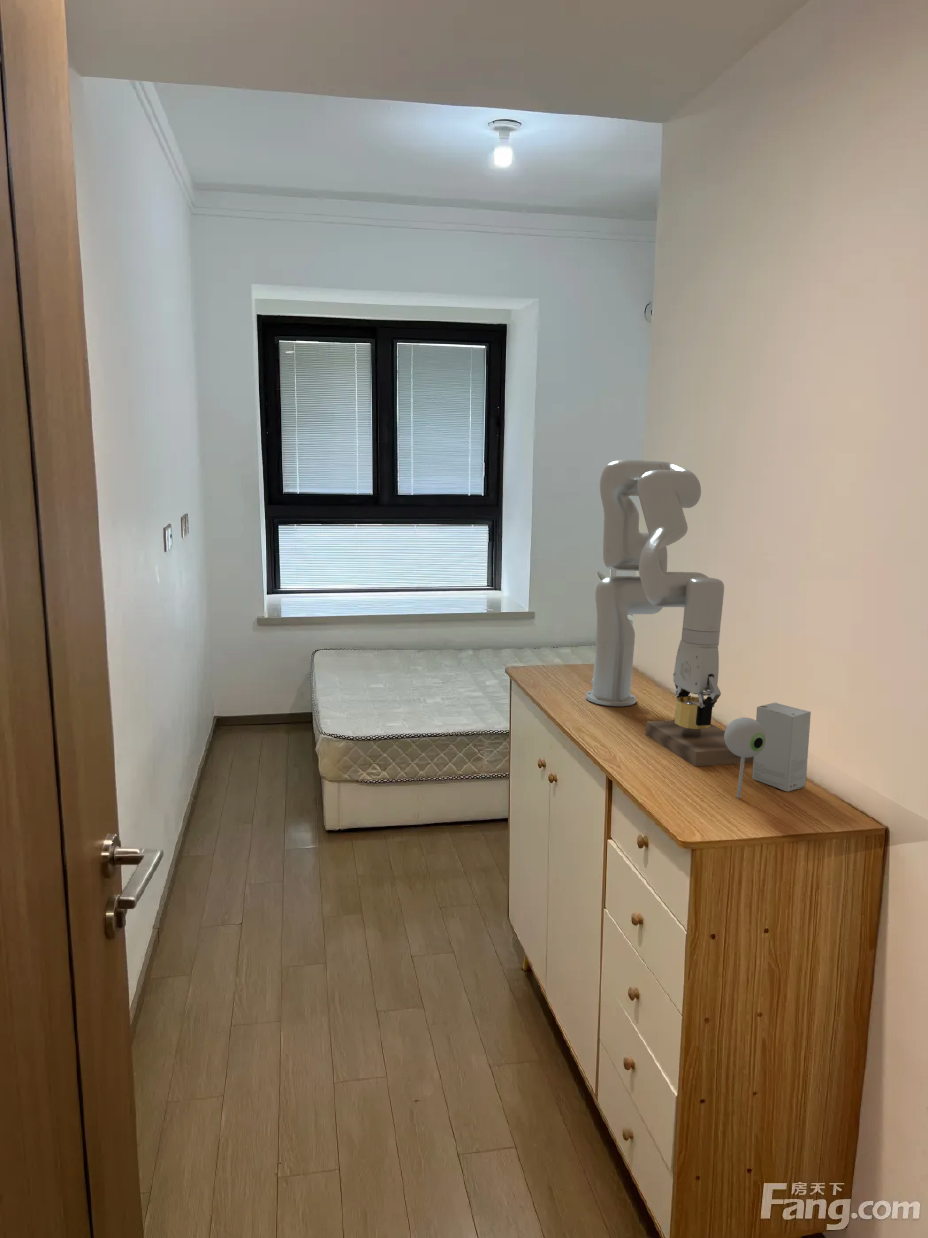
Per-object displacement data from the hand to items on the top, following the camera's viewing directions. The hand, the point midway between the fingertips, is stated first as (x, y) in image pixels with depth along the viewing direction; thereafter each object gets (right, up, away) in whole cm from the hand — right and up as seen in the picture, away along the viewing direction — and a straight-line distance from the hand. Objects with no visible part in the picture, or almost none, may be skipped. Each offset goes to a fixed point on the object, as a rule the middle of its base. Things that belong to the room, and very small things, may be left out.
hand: (692, 718), depth 177 cm
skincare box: (+11, -10, -17) cm, 23 cm away
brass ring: (0, -1, 0) cm, 1 cm away
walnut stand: (+2, -6, +2) cm, 7 cm away
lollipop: (+1, -12, -25) cm, 27 cm away
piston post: (0, -3, +1) cm, 4 cm away
